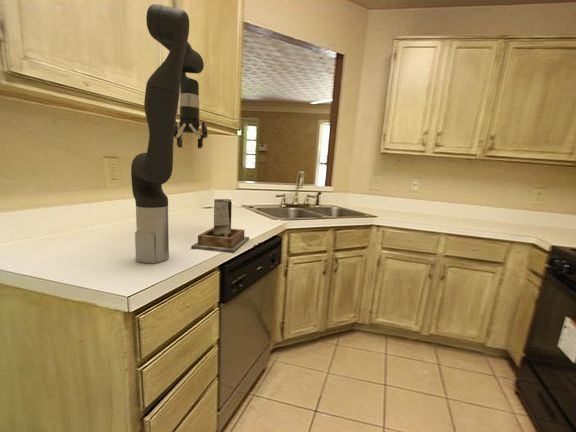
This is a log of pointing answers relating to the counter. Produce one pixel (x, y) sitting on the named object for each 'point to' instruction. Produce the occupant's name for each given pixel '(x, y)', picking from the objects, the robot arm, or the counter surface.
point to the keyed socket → (221, 241)
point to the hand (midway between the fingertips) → (189, 147)
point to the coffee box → (222, 217)
